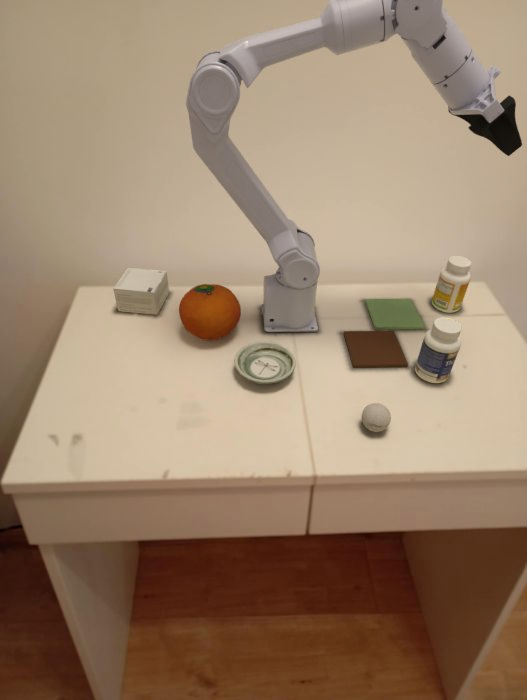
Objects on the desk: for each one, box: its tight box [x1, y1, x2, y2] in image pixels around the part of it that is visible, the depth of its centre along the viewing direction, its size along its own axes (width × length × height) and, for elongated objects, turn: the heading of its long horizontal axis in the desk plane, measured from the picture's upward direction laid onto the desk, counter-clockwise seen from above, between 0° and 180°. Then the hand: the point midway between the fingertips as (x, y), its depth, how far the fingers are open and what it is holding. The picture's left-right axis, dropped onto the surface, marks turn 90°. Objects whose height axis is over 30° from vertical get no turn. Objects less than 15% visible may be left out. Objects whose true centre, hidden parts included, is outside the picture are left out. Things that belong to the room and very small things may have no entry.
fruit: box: [178, 283, 242, 341], centre depth 81 cm, size 11×10×8 cm
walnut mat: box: [343, 330, 409, 369], centre depth 80 cm, size 9×9×1 cm
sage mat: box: [364, 298, 426, 331], centre depth 88 cm, size 9×9×1 cm
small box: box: [112, 267, 170, 316], centre depth 88 cm, size 8×8×5 cm
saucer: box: [234, 340, 297, 385], centre depth 75 cm, size 10×10×2 cm
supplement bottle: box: [431, 255, 472, 313], centre depth 88 cm, size 5×5×10 cm
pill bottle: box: [414, 316, 462, 384], centre depth 73 cm, size 5×5×10 cm
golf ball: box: [361, 402, 392, 433], centre depth 66 cm, size 4×4×4 cm
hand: (503, 141), depth 67 cm, fingers open, 7 cm apart
